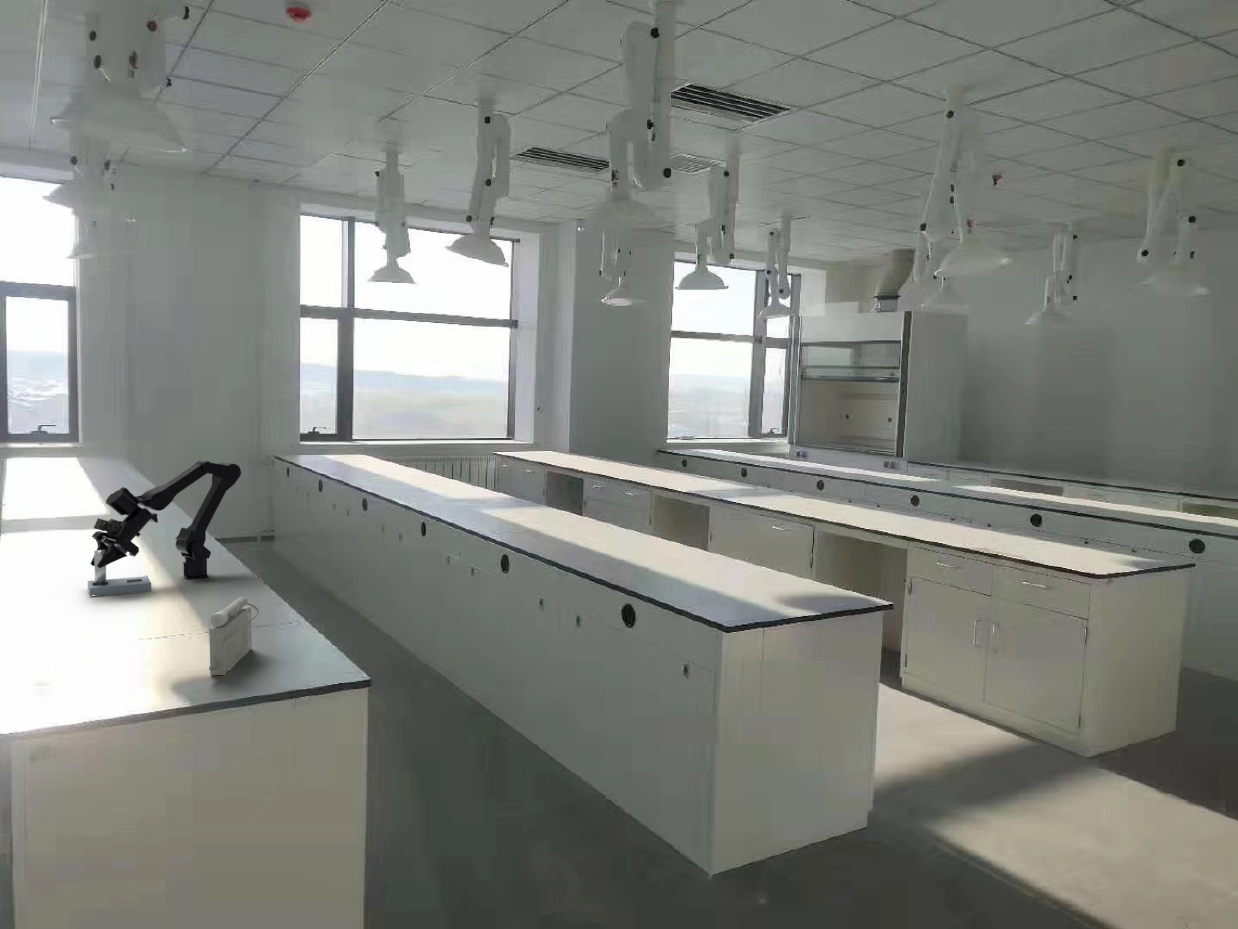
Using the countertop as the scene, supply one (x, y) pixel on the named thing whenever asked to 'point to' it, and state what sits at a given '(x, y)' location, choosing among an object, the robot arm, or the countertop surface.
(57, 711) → the countertop surface
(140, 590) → the socket block
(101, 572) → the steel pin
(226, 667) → the geiger counter
